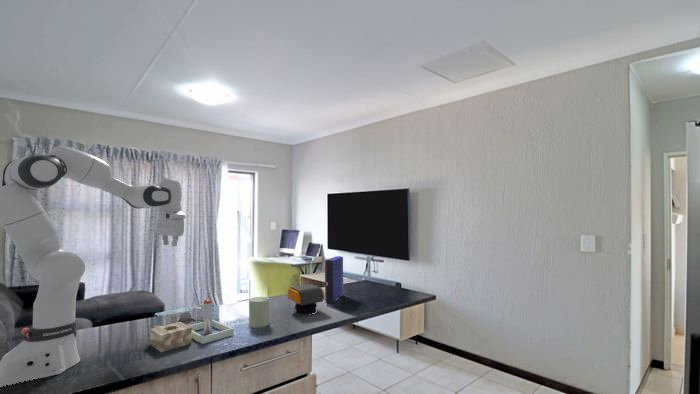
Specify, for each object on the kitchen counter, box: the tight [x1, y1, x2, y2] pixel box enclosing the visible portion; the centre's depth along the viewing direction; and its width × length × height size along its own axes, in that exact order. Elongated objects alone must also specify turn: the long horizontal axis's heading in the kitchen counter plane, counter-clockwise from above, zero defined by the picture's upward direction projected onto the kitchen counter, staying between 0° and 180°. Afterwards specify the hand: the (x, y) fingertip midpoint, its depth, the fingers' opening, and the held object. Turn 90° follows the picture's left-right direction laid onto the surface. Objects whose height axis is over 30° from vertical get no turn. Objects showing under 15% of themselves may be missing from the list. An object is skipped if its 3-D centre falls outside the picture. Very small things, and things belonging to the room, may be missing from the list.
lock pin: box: [203, 298, 213, 336], centre depth 143 cm, size 3×3×14 cm
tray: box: [188, 320, 234, 345], centre depth 142 cm, size 13×18×4 cm
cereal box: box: [324, 255, 344, 303], centre depth 202 cm, size 17×5×24 cm, turn 161°
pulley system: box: [153, 312, 219, 328], centre depth 159 cm, size 27×5×15 cm
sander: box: [287, 283, 325, 316], centre depth 180 cm, size 15×25×13 cm, turn 34°
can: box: [248, 296, 270, 329], centre depth 157 cm, size 9×9×12 cm
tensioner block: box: [149, 321, 193, 353], centre depth 132 cm, size 11×11×7 cm
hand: (170, 245), depth 152 cm, fingers open, 8 cm apart
